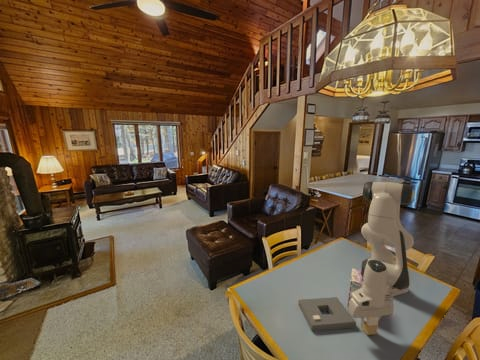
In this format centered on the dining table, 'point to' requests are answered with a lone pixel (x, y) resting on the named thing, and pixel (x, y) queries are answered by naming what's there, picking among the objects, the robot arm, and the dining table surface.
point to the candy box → (355, 282)
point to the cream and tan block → (370, 325)
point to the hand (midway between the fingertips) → (369, 322)
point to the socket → (324, 322)
